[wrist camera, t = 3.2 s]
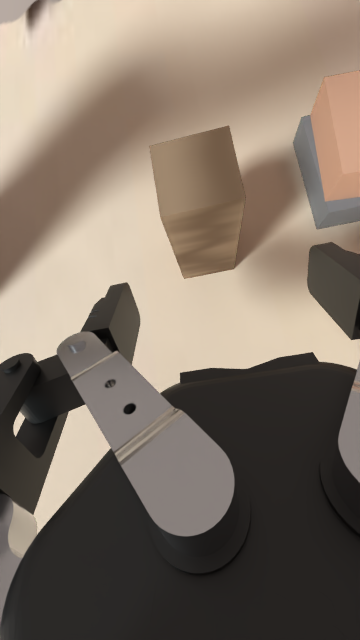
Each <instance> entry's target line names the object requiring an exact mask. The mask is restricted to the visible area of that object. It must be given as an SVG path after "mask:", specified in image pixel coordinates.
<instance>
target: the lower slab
mask: <svg viewBox="0 0 360 640" xmlns="http://www.w3.org/2000/svg"><path fill="white" fill-rule="evenodd" d="M293 145H294V148H295V152H296V156H297V159H298V163H299V167H300V170H301V174H302V177H303V181H304V185H305V188H306V192H307V196H308V199H309V203H310V206H311V210H312V214H313V217H314V221H315V225H316V228H317V229H322V228H327V227H332V226H336V225H341V224H346V223H351V222H356V221H360V197H356V198H348V199H341V200H333V201H326V202H325V198H324V192H323V186H322V181H321V175H320V169H319V163H318V158H317V152H316V146H315V141H314V135H313V129H312V123H311V118H310V115H308V116H304V117H301V120H300V123H299V126H298V129H297V132H296V135H295V138H294V141H293Z"/></svg>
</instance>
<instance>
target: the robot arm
mask: <svg viewBox="0 0 360 640" xmlns="http://www.w3.org/2000/svg"><path fill="white" fill-rule="evenodd" d="M307 284H308V289H309V291H310V293H311V295H312V296H313V297H314V298H315V299H316V300H317V302H318V303H319V304H320V305H321V306H322V307H323V308H324V310H325V311H326V312H327V313H328V314H329V315H330V316H331V317H332V319H333V320H334V321H335V322H336V323H337V324H338V325H339V327H340V328H341V329H342V330H343V331H344V332H345V333H346V335H347V336H348V337H349V338H350V339H351V340H355V339H360V254H356V253H353V252H349V251H345V250H344V249H342V248H341V247H339V246H338V245H336V244H334V243H333V242H330V243H325V244H320V245H314V246H312V247H311V248H310V252H309V264H308V278H307ZM139 327H140V315H139V311H138V308H137V306H136V303H135V300H134V297H133V294H132V292H131V289H130V286H129V284H128V283H122V284H117V285H112V286H110V288H109V290H108V292H107V294H106V296H105V298H101V299H100V300H99V301H98V302H97V303H96V304H95V305H94V307H93V309H92V311H91V313H90V315H89V316H88V318H87V320H86V322H85V324H84V326H83V328H82V330H81V332H80V333H77V334H74V335H72V336H70V337H68V338H67V339H65V340H64V341H63V342H62V343H61V344H60V345H59V346H58V348H57V355H55V356H52V357H50V358H47V359H44V360H42V361H39V362H37V361H36V360H35V358H34V357H33V355H32V354H29V353H23V354H19V355H16V356H13V357H11V358H9V359H7V360H6V361H4V362H3V363H1V364H0V640H360V362H359V366H358V369H357V370H356V369H353V368H351V367H347V366H343V365H339V364H334V363H327V362H319V361H318V360H317V358H316V357H315V355H314V353H313V352H311V353H305V354H299V355H292V356H286V357H279V358H276V359H274V360H271V361H268V362H265V363H263V364H260V365H257V366H254V367H252V368H249V369H224V368H208V369H202V370H196V371H189V372H183V373H180V383H178V384H175V385H173V386H171V387H169V388H168V389H166V390H164V391H163V392H161V393H159V392H158V391H157V390H156V389H155V388H154V387H153V386H152V385H151V384H150V383H149V382H148V381H147V380H146V379H145V378H144V377H143V376H142V375H141V374H140V373H139V372H138V371H137V370H136V369H135V368H134V367H133V366H132V361H133V356H134V351H135V346H136V342H137V337H138V332H139ZM85 404H86V405H87V407H88V409H89V411H90V412H91V414H92V416H93V417H94V419H95V421H96V423H97V424H98V426H99V428H100V429H101V431H102V433H103V435H104V436H105V438H106V440H107V441H108V443H109V445H110V447H111V449H110V450H109V451H108V452H107V453H106V454H105V456H104V457H103V458H102V459H101V460H100V461H99V463H98V464H97V465H96V466H95V467H94V468H93V470H92V471H91V472H90V473H89V474H88V475H87V477H86V478H85V479H84V480H83V481H82V483H81V484H80V485H79V486H78V487H77V488H76V490H75V491H74V492H73V493H72V494H71V495H70V497H69V498H68V499H67V500H66V501H65V502H64V504H63V505H62V506H61V507H60V508H59V509H58V511H57V512H56V513H55V514H54V515H53V516H52V518H51V519H50V520H49V521H48V522H47V523H46V525H45V526H44V527H43V528H42V529H41V531H40V532H39V533H38V535H37V522H36V519H35V517H34V516H33V514H34V511H35V509H36V506H37V503H38V500H39V497H40V494H41V491H42V488H43V485H44V482H45V479H46V476H47V474H48V471H49V468H50V465H51V462H52V459H53V456H54V453H55V450H56V447H57V444H58V442H59V439H60V436H61V433H62V430H63V427H64V424H65V421H66V418H67V415H68V412H69V411H71V410H73V409H75V408H78V407H80V406H82V405H85ZM19 411H20V412H21V413H22V414H23V415H24V417H25V419H24V421H23V423H22V425H21V427H20V429H19V431H18V433H17V435H16V437H15V435H14V432H13V425H14V421H15V419H16V417H17V415H18V413H19ZM36 535H37V536H36Z"/></svg>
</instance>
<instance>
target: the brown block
mask: <svg viewBox="0 0 360 640" xmlns="http://www.w3.org/2000/svg"><path fill="white" fill-rule="evenodd" d="M149 147H150V153H151V160H152V166H153V173H154V179H155V185H156V192H157V198H158V205H159V211H160V217H161V220H162V223H163V225H164V228H165V230H166V233H167V236H168V238H169V241H170V243H171V246H172V249H173V251H174V254H175V256H176V259H177V262H178V264H179V267H180V269H181V272H182V275H183V277H184V279H186V278H191V277H196V276H201V275H206V274H211V273H216V272H222V271H227V270H232V269H234V265H235V259H236V253H237V247H238V241H239V235H240V229H241V223H242V217H243V211H244V205H245V199H246V197H245V193H244V189H243V184H242V180H241V176H240V171H239V167H238V163H237V158H236V154H235V150H234V145H233V141H232V136H231V132H230V128H229V126H225V127H221V128H217V129H214V130H210V131H206V132H202V133H198V134H194V135H190V136H187V137H183V138H179V139H175V140H171V141H167V142H163V143H160V144H156V145H152V146H149Z"/></svg>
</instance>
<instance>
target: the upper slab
mask: <svg viewBox="0 0 360 640" xmlns="http://www.w3.org/2000/svg"><path fill="white" fill-rule="evenodd" d="M310 118H311V123H312V129H313V135H314V141H315V146H316V152H317V158H318V163H319V169H320V175H321V181H322V186H323V192H324V198H325V202H326V201H333V200H341V199H348V198H356V197H360V70H359V71H354V72H348V73H343V74H338V75H333V76H328V77H324V79H323V82H322V85H321V87H320V90H319V93H318V96H317V98H316V101H315V104H314V106H313V109H312V112H311V115H310Z"/></svg>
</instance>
